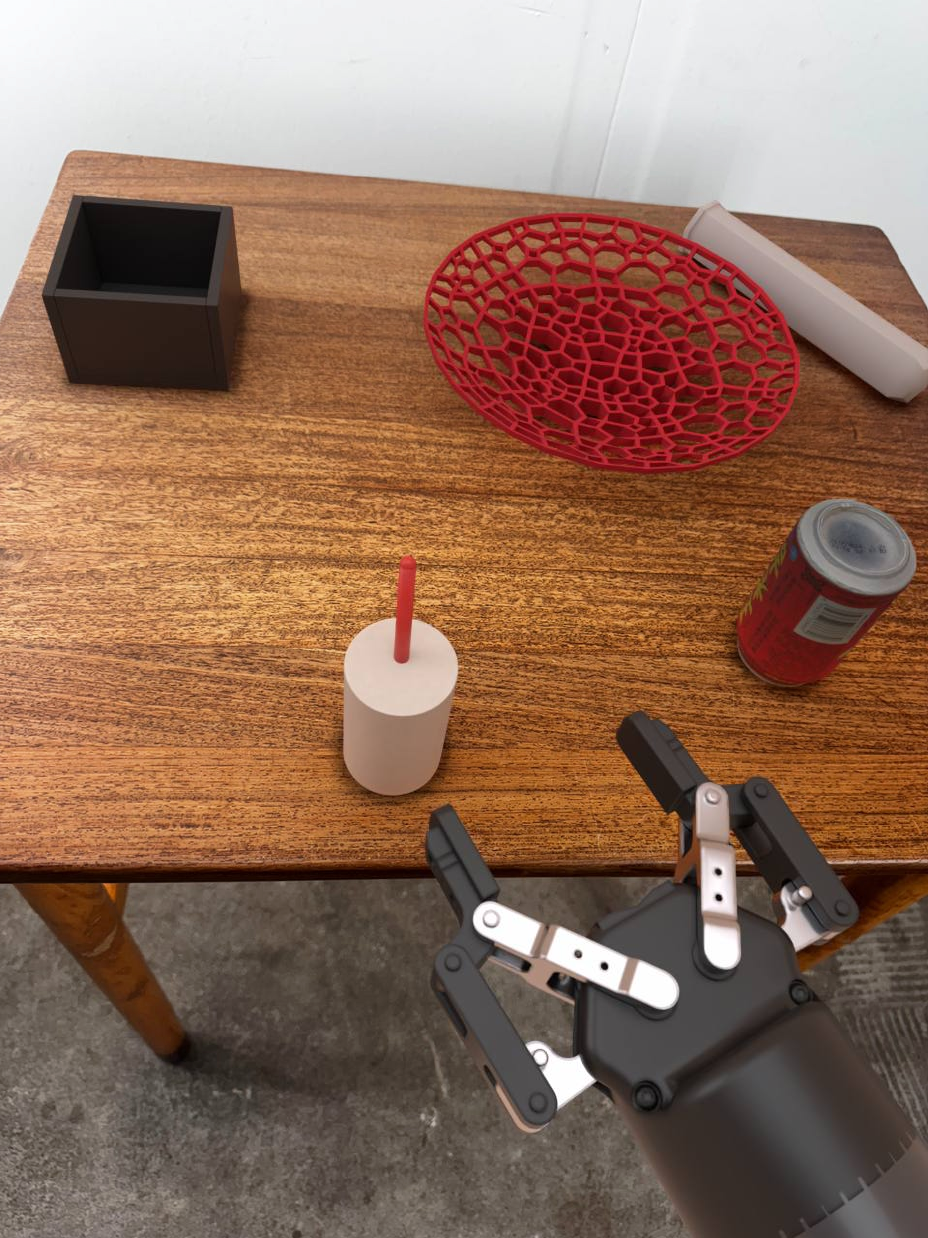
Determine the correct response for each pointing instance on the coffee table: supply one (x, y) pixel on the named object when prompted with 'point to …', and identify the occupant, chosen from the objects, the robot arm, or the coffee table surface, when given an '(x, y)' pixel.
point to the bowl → (609, 349)
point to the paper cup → (397, 697)
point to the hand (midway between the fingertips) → (535, 767)
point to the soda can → (823, 591)
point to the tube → (814, 305)
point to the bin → (145, 293)
